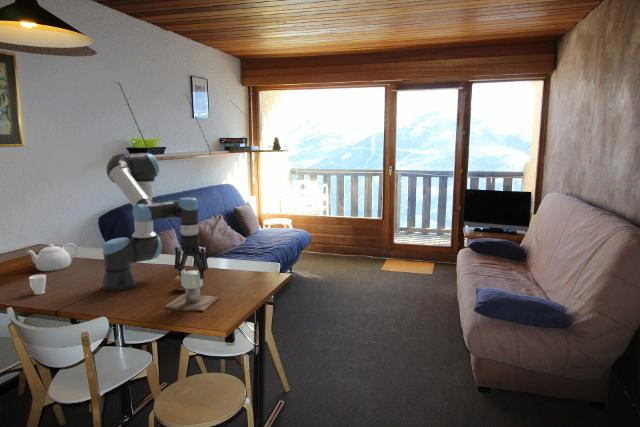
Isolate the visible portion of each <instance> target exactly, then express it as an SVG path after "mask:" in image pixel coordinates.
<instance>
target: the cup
mask: <svg viewBox="0 0 640 427" xmlns="http://www.w3.org/2000/svg"><path fill="white" fill-rule="evenodd" d="M28 279H29V286H30V288H31V289H32V291H33V294H34V295H42V294H45V291H46V282H47V275H46V274H42V273H41V274H34V275H31V276H29V277H28Z"/></svg>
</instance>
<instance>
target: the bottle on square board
mask: <svg viewBox="0 0 640 427" xmlns="http://www.w3.org/2000/svg"><path fill="white" fill-rule="evenodd" d="M200 288H201V287H198V288H194V289H185V290H184V292H185V293H182V294H181V295H180V296H178V297H177V298H175V299H174V300H172V301H171V302H168V303H167V304H166V305H164V309H165V310H166V309H167V310H178V311H188V312H198V311H203V312H202V313H204V312H205V311H207V310H208V309H209V308H210V307H212V306H213V305H214V304H215V303H214V302H216V301H217V300H218V299H219V298H220V299H221V296H216V295H215V296H214V295H204V294H203V295H202V294H201V292H200V291H201V290H200ZM220 299H219V300H220ZM219 300H218V301H219ZM218 301H217V302H218ZM217 302H216V303H217ZM213 303H214V304H213ZM212 304H213V305H212ZM211 305H212V306H211ZM209 306H210V307H209ZM208 307H209V308H208ZM207 308H208V309H207ZM206 309H207V310H206Z"/></svg>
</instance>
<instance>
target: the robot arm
mask: <svg viewBox="0 0 640 427" xmlns="http://www.w3.org/2000/svg"><path fill="white" fill-rule="evenodd" d="M105 169H106V175H107V177H108V178H109V180H110V181H111V182H112V183H114V184H116V186H117V187H118V189H120V191H121V192H122V194H123V195H124V196H125V198H126V199H127V201H128V202H129V203H130V205H131V206H132V216H133V219H134V232H133V233H132V234H131V239H130V238H129V237H116V238H113V239H109V240H107V241H106V242H104V244H103V247H102V248H103V249H102V250H103V252H102V253H103V254H102V255H103V261H104V262H103V263H104V276H103V280H102V283H101V288H102V290H103V291H107V292H119V291H126V290H129V289H133V288H134V287H135V286H137V281H136V280H137V279H136V277H135V276H134V273H133V271H132V264H135V263H140V262H146V261H151V260H154V259H157V258H159V257H160V255H161V253H162V248H163V246H162V240H161V238H160V236H158V235H157V232H155V231H154V222H155V221H160V220H161V221H162V220H169V219H170V220H171V219H179V226H180V227H179V228H180V232H179V233H180V234H181V235H180V243H181V244H180V245H178V246H175V247H174V251H175V255H174V256H175V257H174V269H175V270H177V271H178V273H179V274H178V276H179V277H180V278H181V286H183V274H182V273H184V272H186V269H185V266H186V263H187V260H188V257H189V256H190V257H191V256H192V258H193V259H194V261H195V264H196V267H197V269H198V271H199V272H198V287H200V288H201V287H202V286H203V284H204V282H203V281H204V280H203V279H204V278H205V272H206V271H208V270H209V265H208V259H207V254H206V252H207V248H206V246H205V247H202V246H200V235H199V232H200V231H199V230H200V229H199V205H198V199H197V198H196V197H189V196H188V197H180V198H179V200H178V199H169V200H167V201H159V202H154V201H153V188H152V184H153V183H155V181H156V180H155V178H156V177H158V176H159V174H160V165H159V162H158V159H157V158H156V156H155V155H154V154H152V153H148V152H147V153H146V152H136V153H135V152H134V153H118V154H115V155H113V156H112V157H111V158H110V159H109V160H108V162H107V165H106V167H105Z"/></svg>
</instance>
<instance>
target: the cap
mask: <svg viewBox="0 0 640 427" xmlns="http://www.w3.org/2000/svg"><path fill="white" fill-rule="evenodd" d="M185 271H186V270H185ZM198 272H199V270H192V269H191V270H187V271H186V272H184V273H182V274H183V287H184V288H185V289H194V288H198Z"/></svg>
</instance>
